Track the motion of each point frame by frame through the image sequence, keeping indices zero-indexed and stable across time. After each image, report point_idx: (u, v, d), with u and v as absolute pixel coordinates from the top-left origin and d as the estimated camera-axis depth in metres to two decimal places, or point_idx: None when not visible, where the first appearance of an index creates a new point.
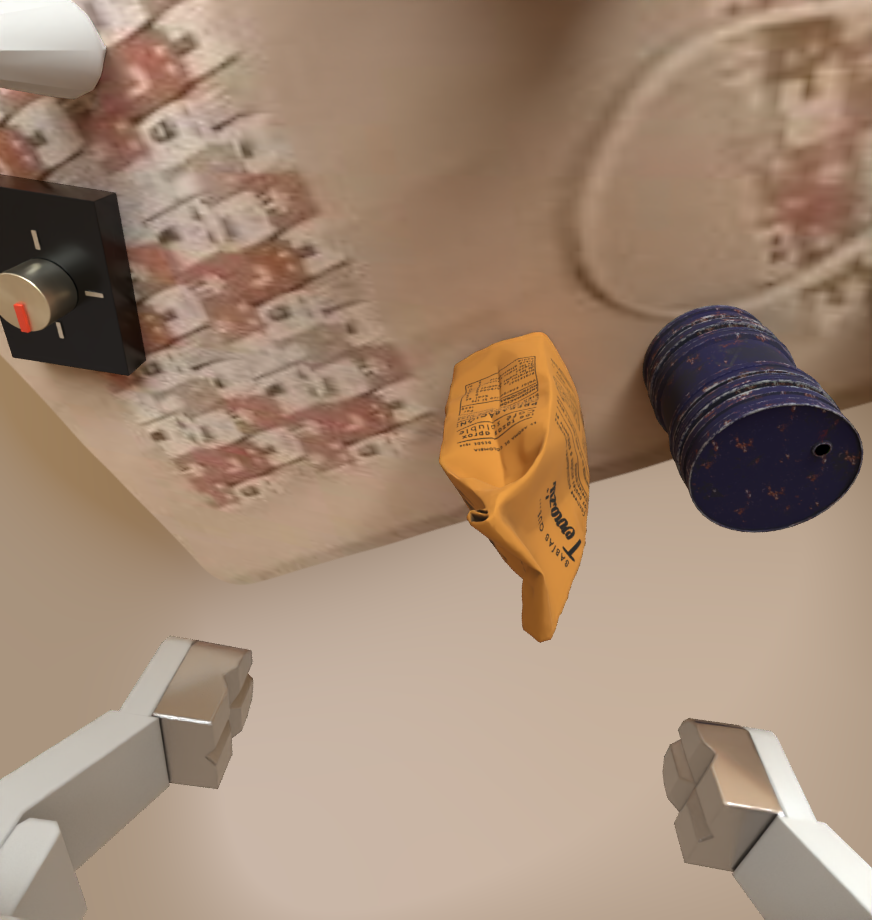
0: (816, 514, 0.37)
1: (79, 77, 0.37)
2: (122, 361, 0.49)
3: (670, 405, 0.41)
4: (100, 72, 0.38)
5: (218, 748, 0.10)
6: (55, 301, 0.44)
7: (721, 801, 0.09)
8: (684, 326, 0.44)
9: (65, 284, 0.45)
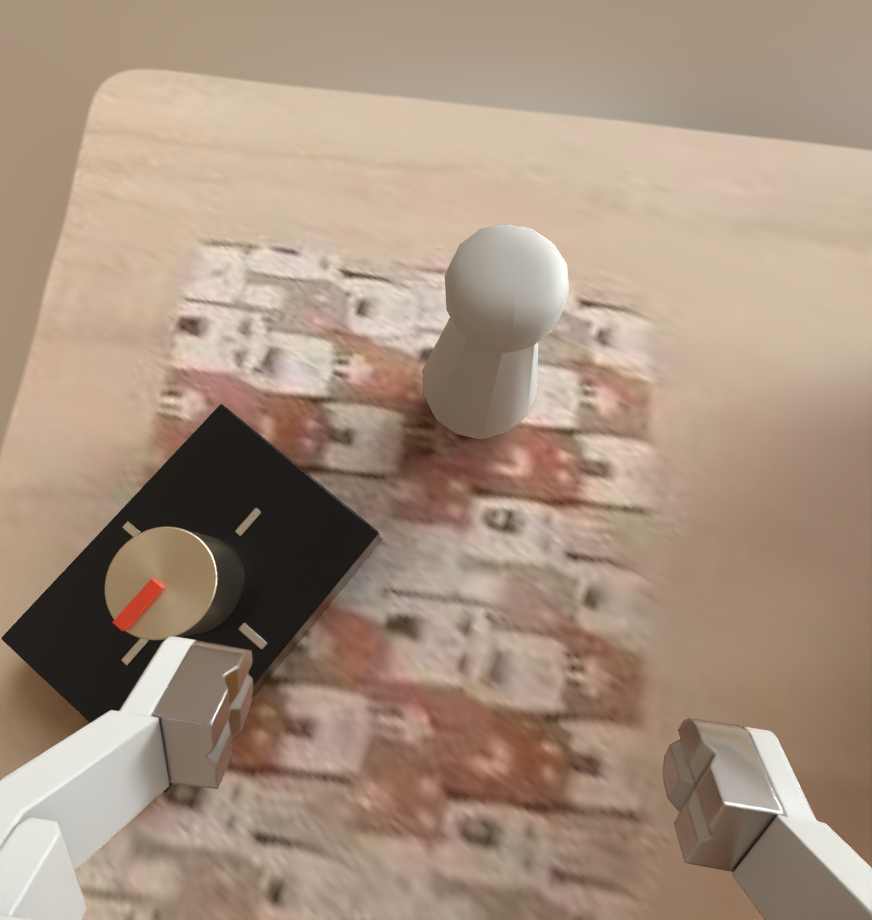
0: None
1: (502, 421, 0.28)
2: None
3: None
4: None
5: (218, 748, 0.10)
6: (211, 613, 0.24)
7: (721, 800, 0.09)
8: None
9: (233, 598, 0.26)
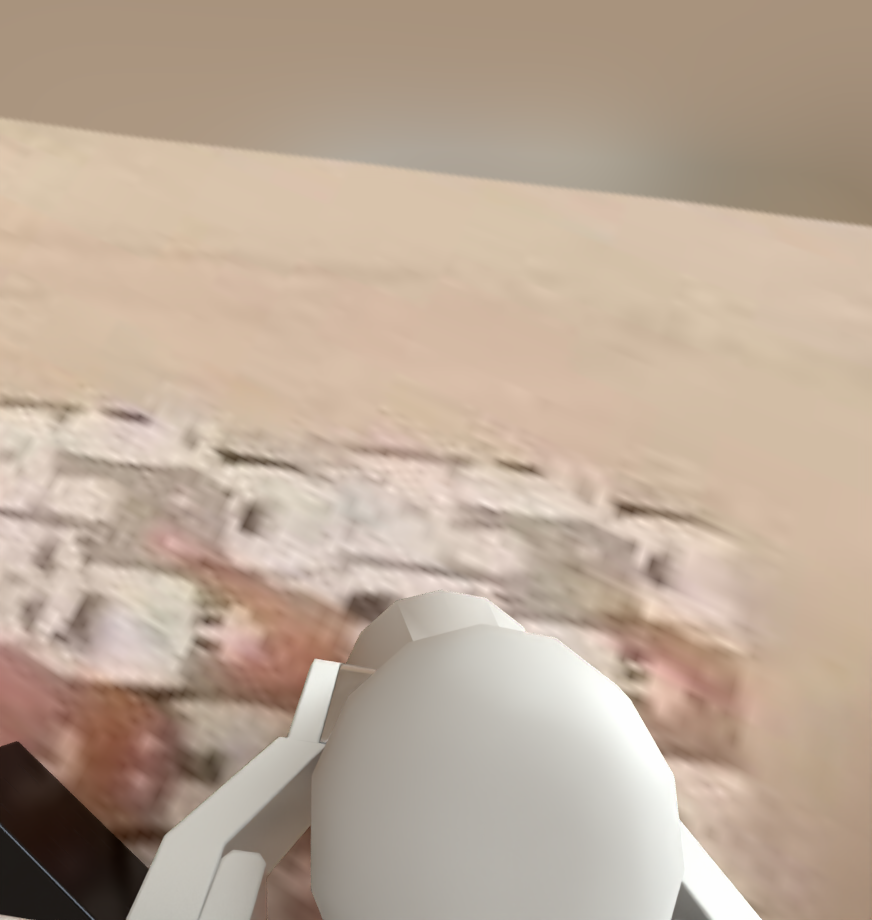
0: None
1: None
2: None
3: None
4: None
5: None
6: None
7: None
8: None
9: None
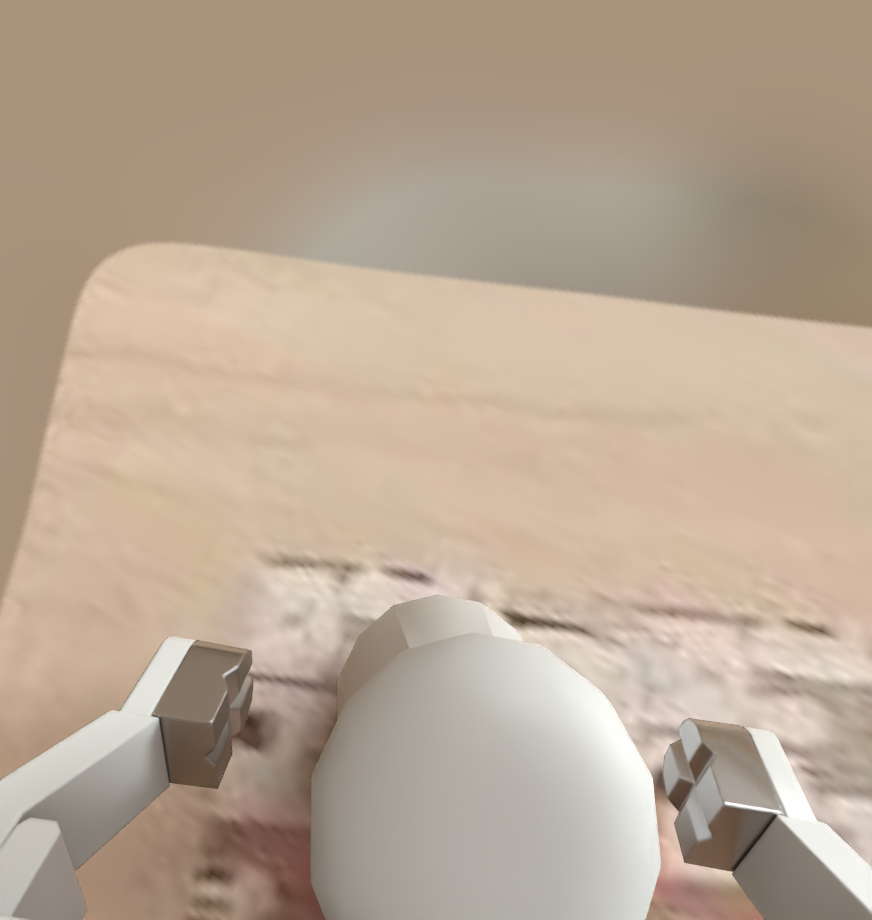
0: None
1: None
2: None
3: None
4: None
5: (218, 748, 0.10)
6: None
7: (721, 801, 0.09)
8: None
9: None
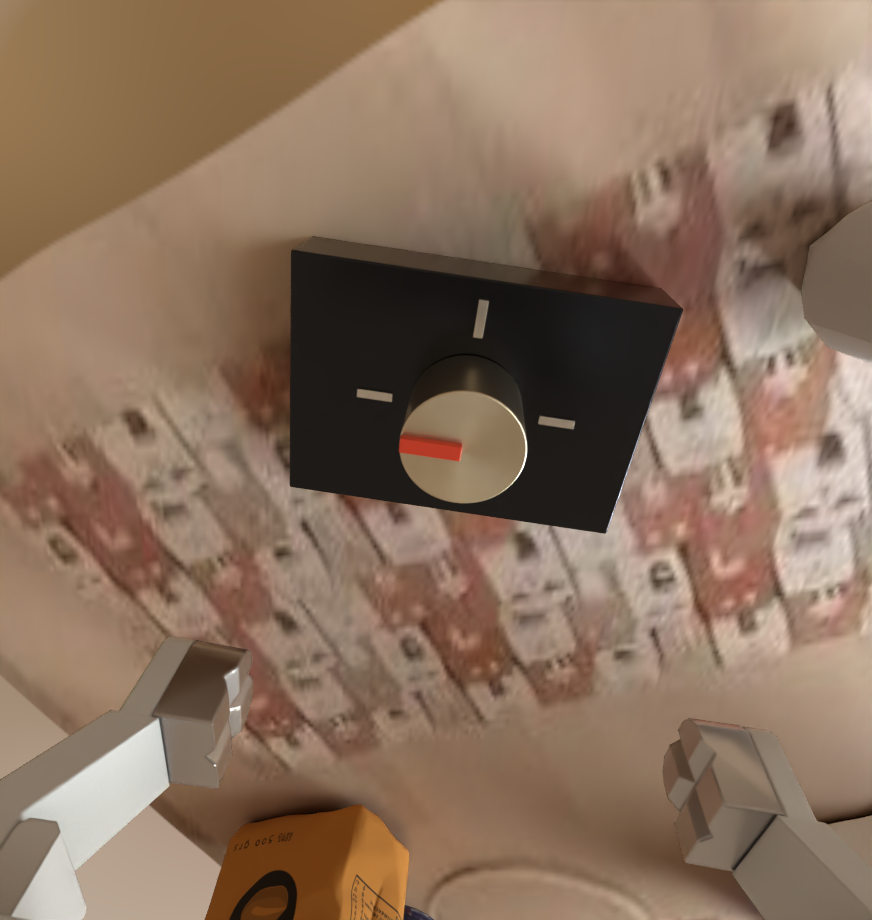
0: None
1: (848, 347, 0.20)
2: (320, 486, 0.26)
3: None
4: (825, 344, 0.22)
5: (218, 748, 0.10)
6: None
7: (721, 801, 0.09)
8: None
9: None
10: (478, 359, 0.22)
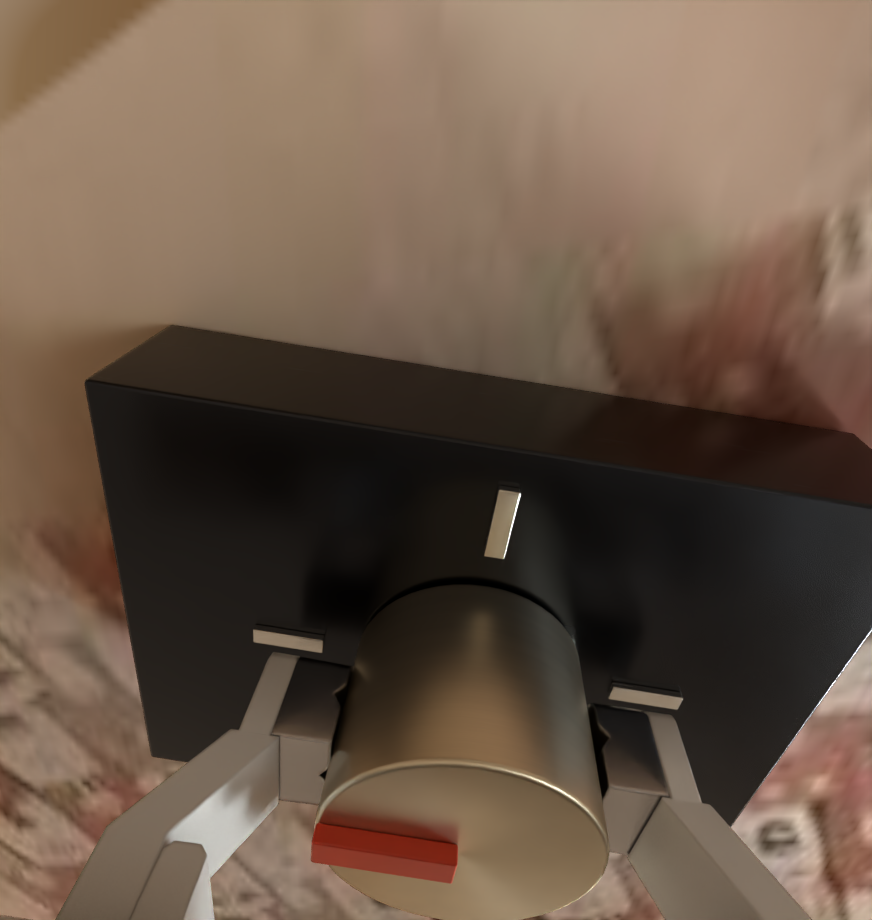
0: None
1: None
2: None
3: None
4: None
5: None
6: None
7: (607, 783, 0.09)
8: None
9: None
10: (494, 599, 0.10)
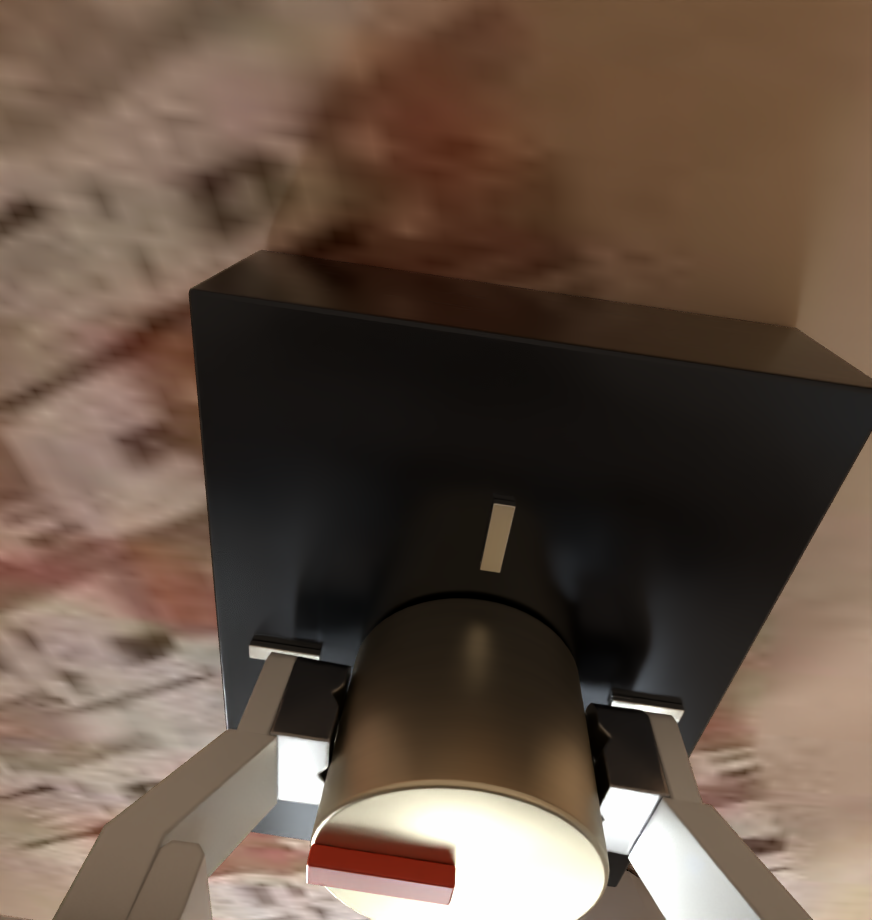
0: None
1: None
2: (212, 381, 0.09)
3: None
4: None
5: (328, 766, 0.10)
6: None
7: (608, 783, 0.09)
8: None
9: None
10: (492, 614, 0.10)
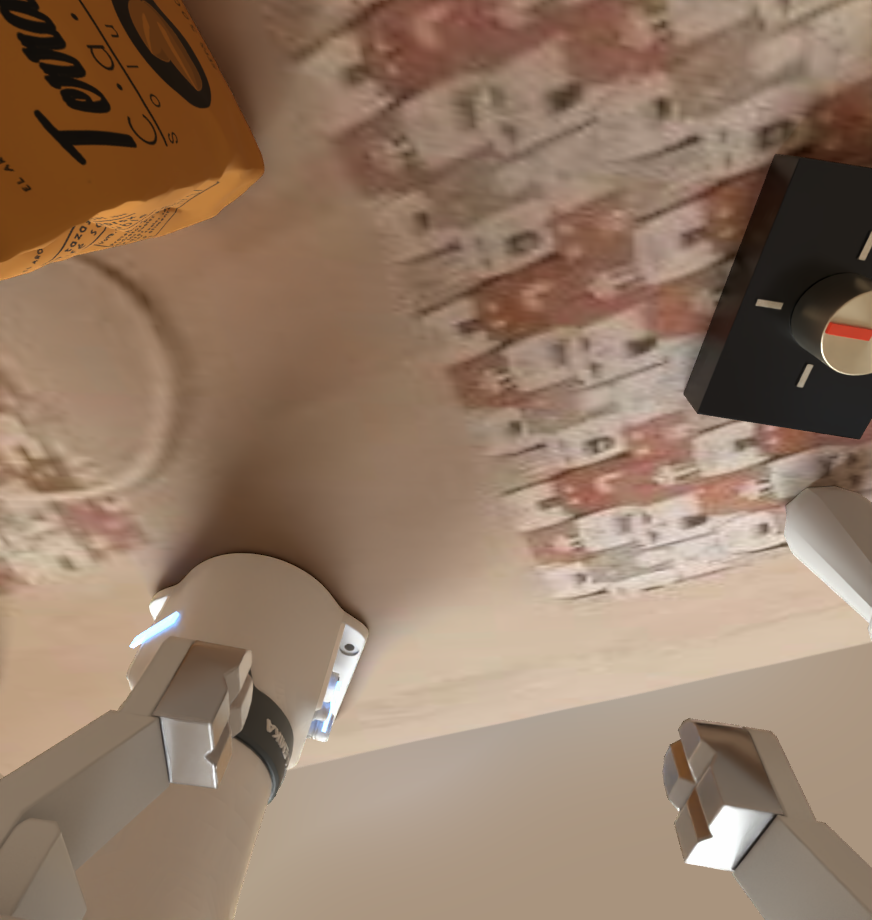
0: None
1: (819, 520, 0.38)
2: (793, 188, 0.29)
3: None
4: (799, 507, 0.39)
5: (218, 748, 0.10)
6: None
7: (721, 801, 0.09)
8: None
9: None
10: (860, 275, 0.31)
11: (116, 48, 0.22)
